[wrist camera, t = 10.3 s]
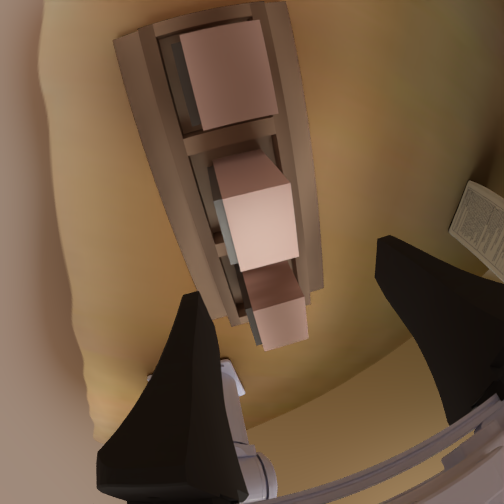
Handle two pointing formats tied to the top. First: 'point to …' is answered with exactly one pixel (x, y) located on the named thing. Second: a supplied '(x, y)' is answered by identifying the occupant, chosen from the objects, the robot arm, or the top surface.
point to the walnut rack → (228, 149)
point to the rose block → (253, 209)
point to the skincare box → (481, 226)
